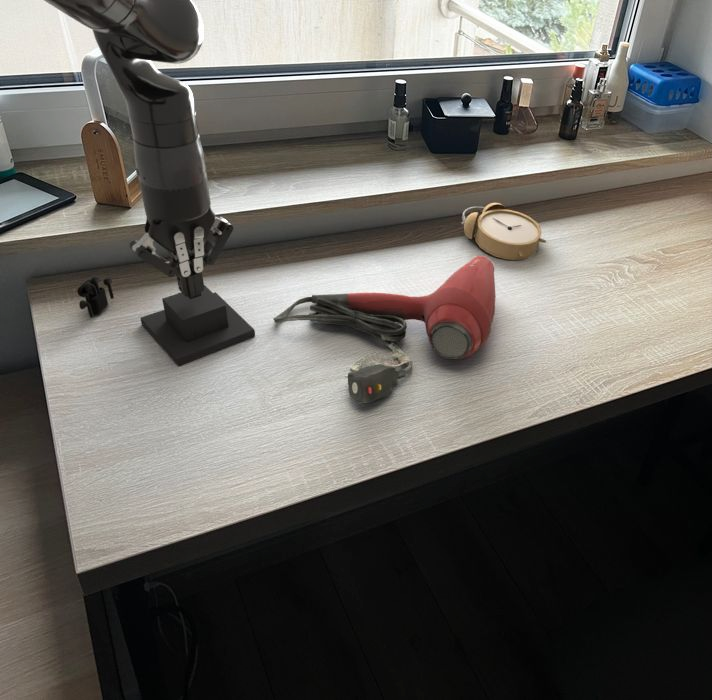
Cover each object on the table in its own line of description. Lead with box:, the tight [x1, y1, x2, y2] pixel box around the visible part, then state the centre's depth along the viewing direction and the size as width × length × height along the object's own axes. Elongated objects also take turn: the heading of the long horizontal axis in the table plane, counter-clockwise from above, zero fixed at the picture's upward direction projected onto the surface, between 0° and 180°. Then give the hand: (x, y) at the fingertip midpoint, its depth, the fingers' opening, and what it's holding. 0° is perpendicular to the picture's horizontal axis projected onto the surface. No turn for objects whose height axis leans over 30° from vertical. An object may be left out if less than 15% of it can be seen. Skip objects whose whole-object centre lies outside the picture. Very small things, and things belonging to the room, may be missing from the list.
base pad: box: [140, 292, 256, 367], centre depth 98 cm, size 11×11×3 cm
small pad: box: [161, 284, 229, 342], centre depth 97 cm, size 6×6×4 cm
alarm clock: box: [461, 202, 547, 261], centre depth 125 cm, size 11×5×15 cm
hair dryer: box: [272, 255, 497, 404], centre depth 101 cm, size 33×25×9 cm
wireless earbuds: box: [77, 276, 115, 319], centre depth 99 cm, size 7×2×5 cm, turn 170°
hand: (192, 294), depth 95 cm, fingers closed
